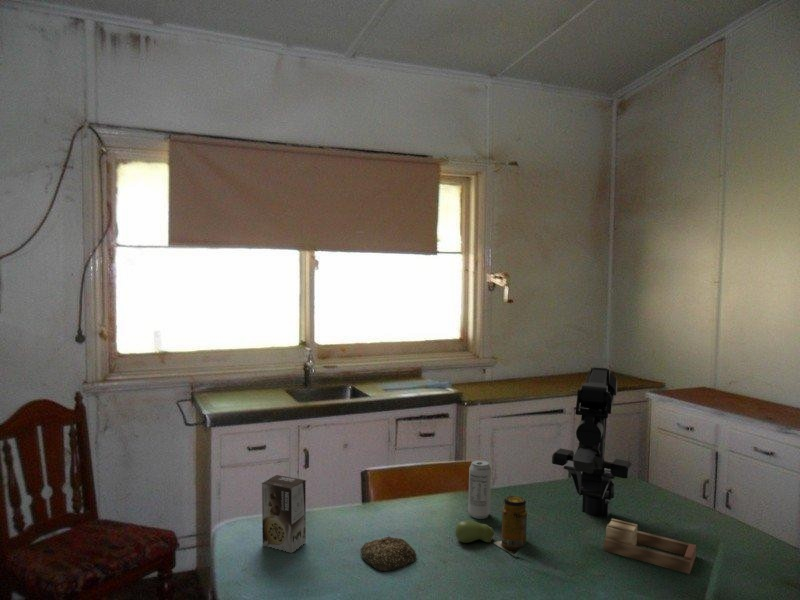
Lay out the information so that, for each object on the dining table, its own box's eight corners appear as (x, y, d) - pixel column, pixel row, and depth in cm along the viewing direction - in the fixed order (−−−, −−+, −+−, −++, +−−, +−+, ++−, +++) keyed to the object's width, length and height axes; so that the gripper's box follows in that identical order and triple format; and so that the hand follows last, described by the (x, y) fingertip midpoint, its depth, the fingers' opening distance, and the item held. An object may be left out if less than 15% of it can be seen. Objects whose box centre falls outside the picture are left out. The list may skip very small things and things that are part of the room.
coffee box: (306, 542, 148) (307, 479, 148) (291, 554, 143) (291, 488, 142) (276, 535, 152) (277, 473, 151) (261, 546, 146) (261, 482, 145)
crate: (605, 547, 146) (606, 526, 145) (611, 537, 151) (612, 517, 150) (631, 554, 142) (632, 532, 142) (636, 544, 147) (637, 523, 147)
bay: (601, 558, 143) (602, 539, 143) (615, 537, 154) (615, 520, 153) (688, 582, 132) (689, 562, 132) (696, 558, 143) (697, 540, 143)
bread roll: (376, 576, 134) (376, 554, 133) (354, 552, 145) (354, 532, 144) (425, 563, 140) (425, 543, 139) (401, 541, 151) (401, 522, 150)
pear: (454, 516, 152) (489, 518, 155) (450, 536, 152) (486, 538, 155) (462, 525, 147) (498, 527, 150) (458, 546, 147) (494, 548, 150)
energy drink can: (493, 513, 167) (494, 461, 166) (484, 521, 162) (485, 467, 161) (473, 508, 171) (475, 457, 170) (464, 516, 165) (465, 463, 165)
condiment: (515, 537, 153) (516, 491, 153) (538, 551, 146) (539, 503, 145) (493, 543, 150) (494, 497, 149) (515, 558, 142) (516, 509, 142)
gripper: (545, 436, 148) (543, 497, 149) (623, 450, 138) (620, 516, 138) (559, 426, 157) (558, 484, 158) (634, 438, 147) (631, 500, 148)
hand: (590, 495), depth 150 cm, fingers open, 5 cm apart
